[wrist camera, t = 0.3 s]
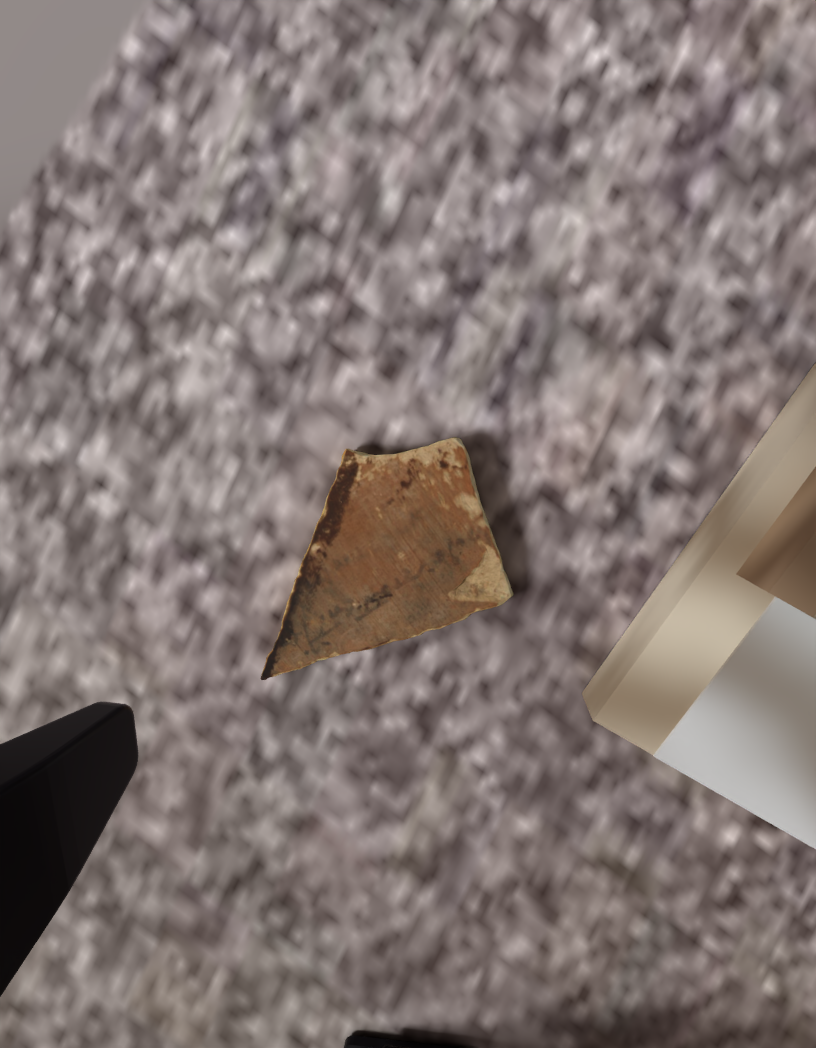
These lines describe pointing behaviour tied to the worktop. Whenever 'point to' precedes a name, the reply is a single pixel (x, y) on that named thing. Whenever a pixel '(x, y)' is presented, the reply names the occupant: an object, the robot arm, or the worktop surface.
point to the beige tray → (734, 639)
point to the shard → (391, 557)
